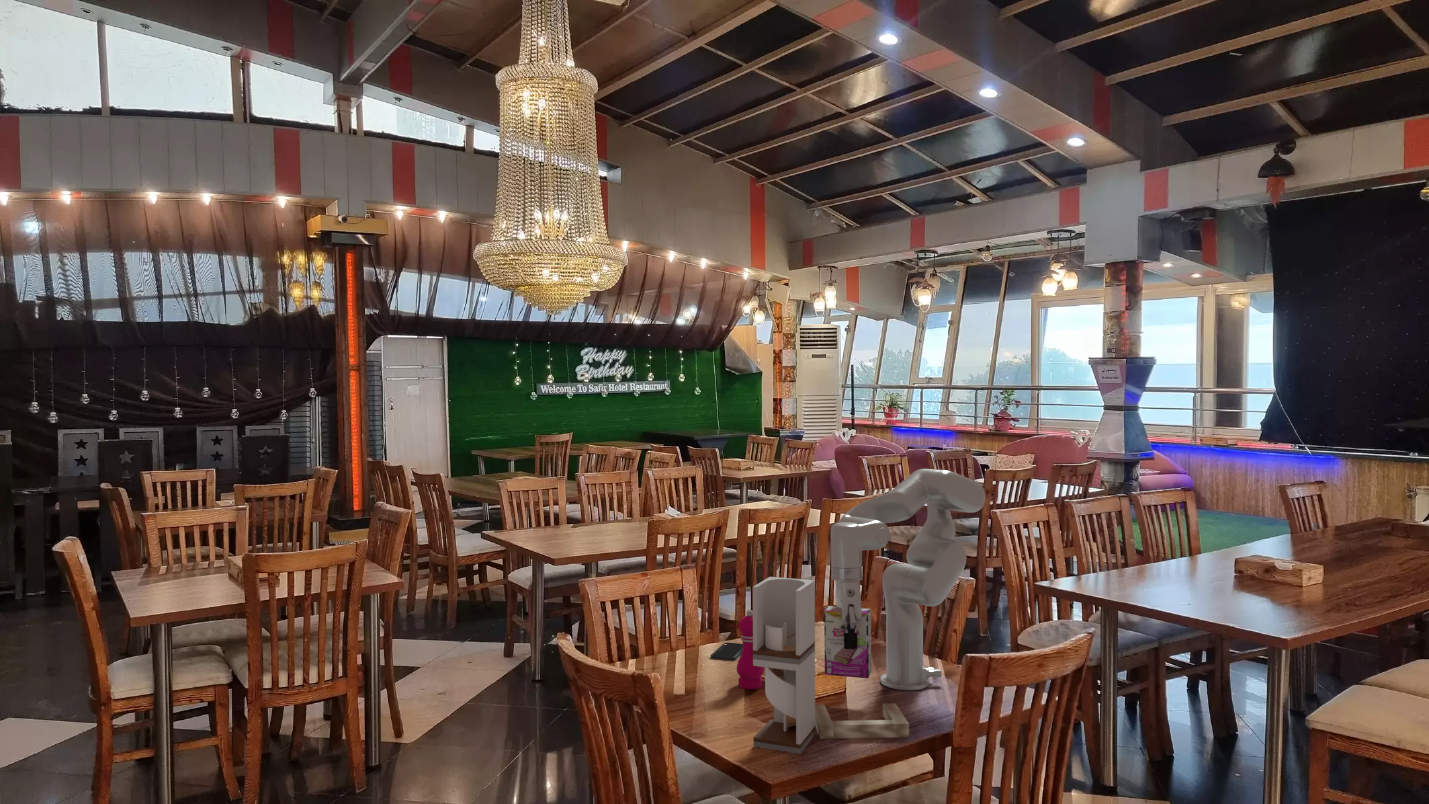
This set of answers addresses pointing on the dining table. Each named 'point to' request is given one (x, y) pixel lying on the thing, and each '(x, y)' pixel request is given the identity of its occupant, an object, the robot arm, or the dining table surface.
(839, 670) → the candy bar box
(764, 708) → the dining table surface
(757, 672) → the pepper mill
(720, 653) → the phone
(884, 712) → the notched board
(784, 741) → the white spiral tower
